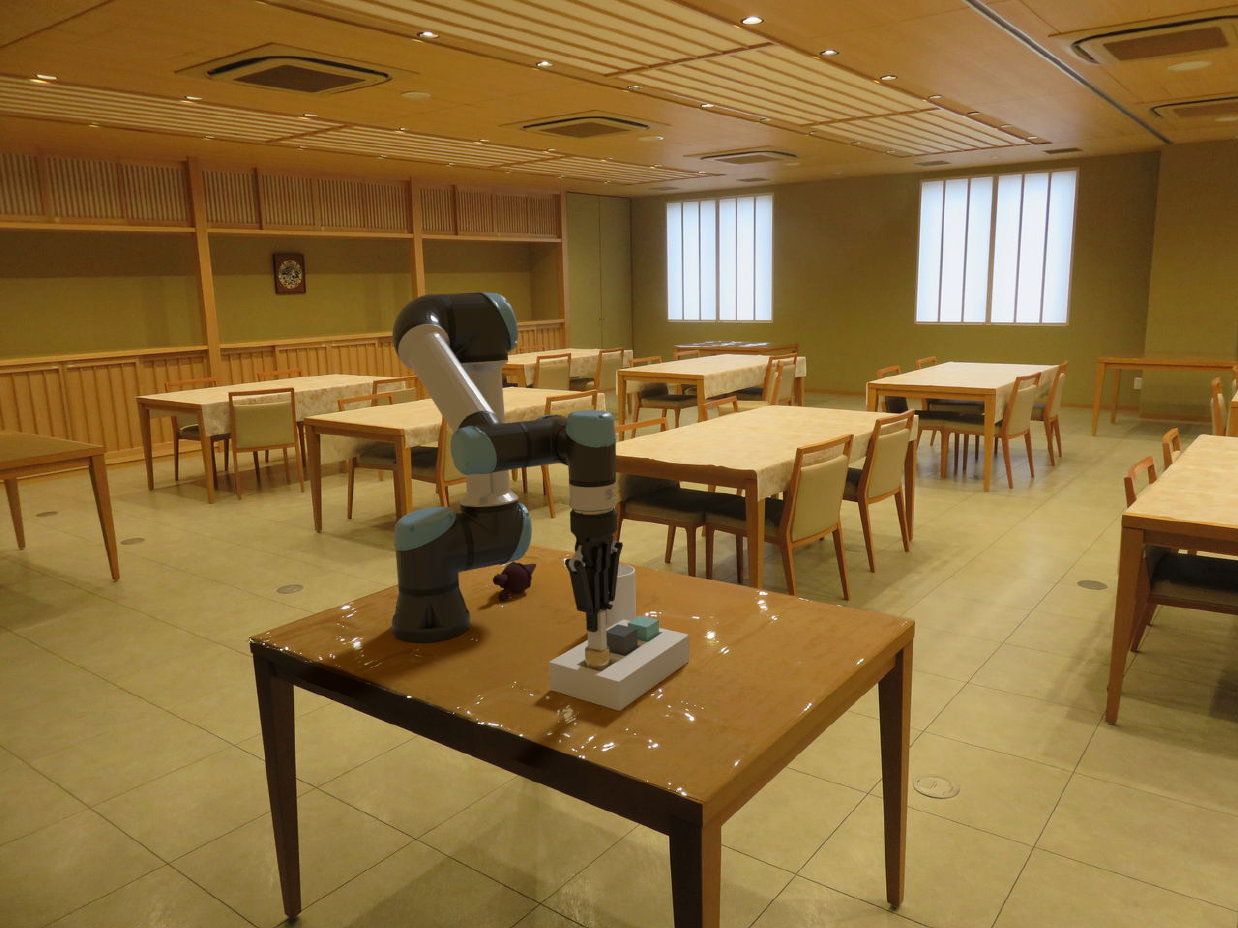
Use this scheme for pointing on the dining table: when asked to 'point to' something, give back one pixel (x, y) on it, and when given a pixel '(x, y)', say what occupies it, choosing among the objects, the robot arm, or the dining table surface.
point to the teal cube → (645, 628)
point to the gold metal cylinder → (597, 659)
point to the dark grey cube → (622, 639)
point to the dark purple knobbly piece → (514, 579)
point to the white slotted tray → (620, 670)
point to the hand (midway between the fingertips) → (597, 647)
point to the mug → (623, 597)
